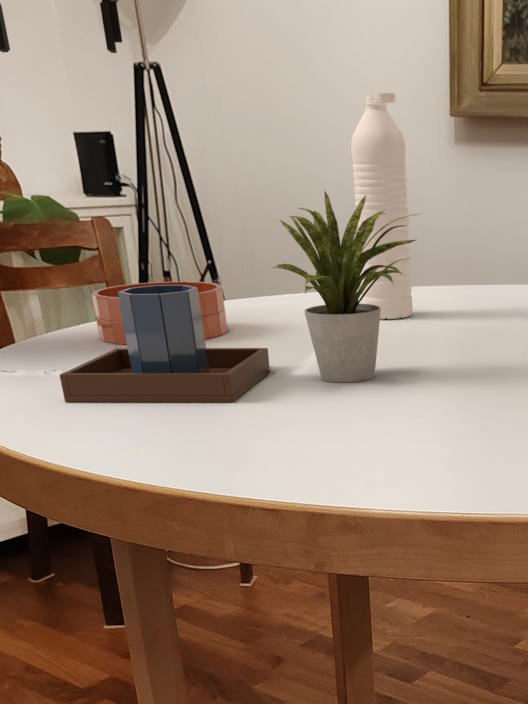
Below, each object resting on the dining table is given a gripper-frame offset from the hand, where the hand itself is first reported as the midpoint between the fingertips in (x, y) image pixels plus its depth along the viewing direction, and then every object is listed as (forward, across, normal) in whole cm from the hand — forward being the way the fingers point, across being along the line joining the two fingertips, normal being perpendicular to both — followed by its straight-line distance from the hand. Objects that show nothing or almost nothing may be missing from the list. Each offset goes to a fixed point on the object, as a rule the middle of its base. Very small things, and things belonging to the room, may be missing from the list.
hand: (58, 51), depth 93 cm
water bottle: (+28, -33, -15) cm, 46 cm away
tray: (+28, -6, +18) cm, 34 cm away
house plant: (+28, -22, +21) cm, 42 cm away
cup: (+28, -6, +18) cm, 34 cm away
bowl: (+28, -5, -9) cm, 30 cm away
